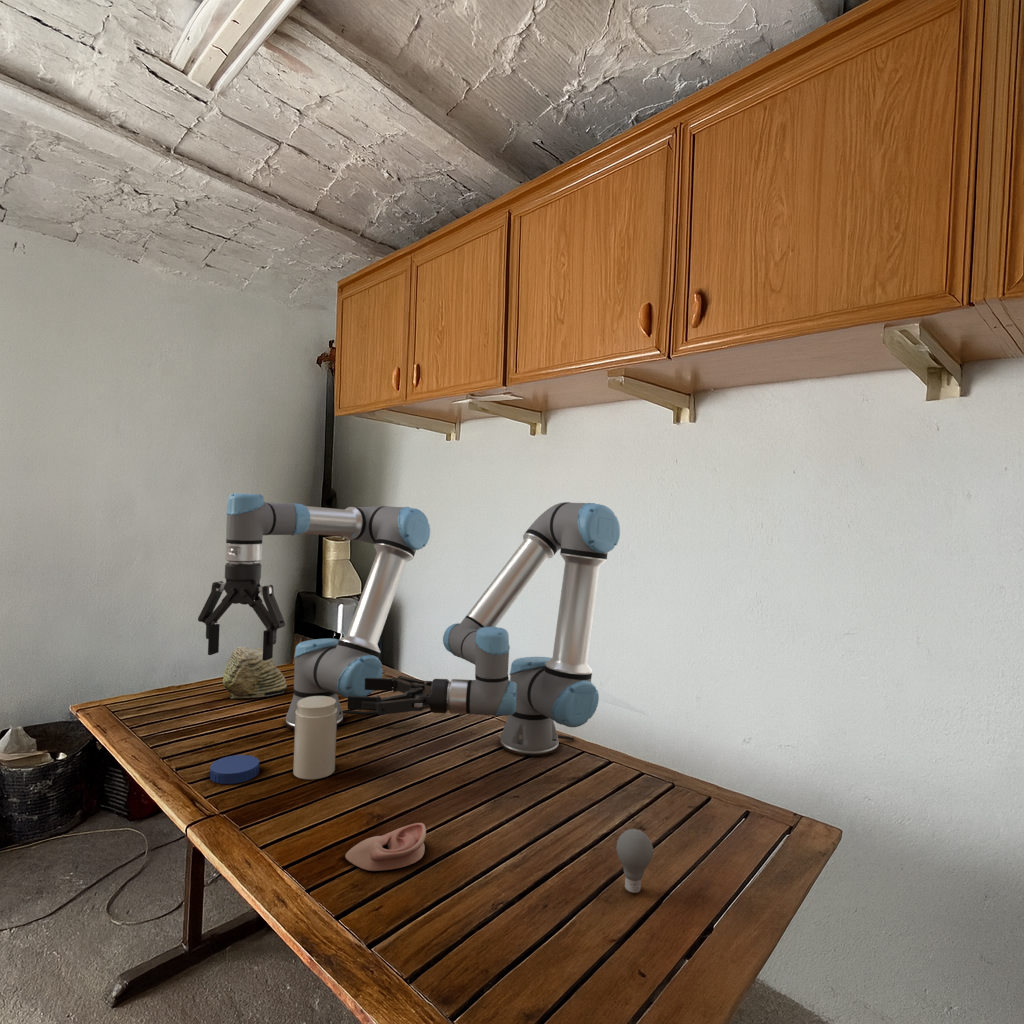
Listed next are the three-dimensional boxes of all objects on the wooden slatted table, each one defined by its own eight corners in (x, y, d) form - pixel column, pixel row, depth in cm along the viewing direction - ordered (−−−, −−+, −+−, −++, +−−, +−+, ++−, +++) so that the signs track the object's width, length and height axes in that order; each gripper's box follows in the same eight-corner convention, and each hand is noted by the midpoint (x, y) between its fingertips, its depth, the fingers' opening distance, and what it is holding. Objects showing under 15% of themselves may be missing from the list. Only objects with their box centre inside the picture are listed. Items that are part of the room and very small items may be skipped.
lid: (223, 788, 135) (223, 778, 135) (201, 774, 142) (201, 763, 142) (267, 774, 143) (268, 764, 143) (245, 760, 150) (245, 751, 150)
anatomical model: (337, 842, 109) (366, 811, 120) (336, 865, 109) (365, 832, 120) (410, 854, 106) (432, 821, 117) (409, 878, 106) (432, 842, 118)
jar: (304, 760, 151) (306, 693, 151) (341, 764, 150) (343, 697, 150) (285, 777, 142) (288, 706, 142) (325, 781, 141) (327, 709, 141)
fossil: (218, 695, 195) (220, 647, 195) (278, 685, 208) (279, 640, 207) (228, 703, 189) (230, 653, 188) (289, 692, 201) (290, 645, 201)
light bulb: (610, 879, 108) (613, 822, 108) (644, 879, 109) (647, 822, 109) (619, 902, 102) (622, 840, 102) (655, 901, 103) (658, 840, 103)
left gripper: (182, 560, 141) (179, 655, 141) (285, 567, 136) (281, 665, 136) (205, 557, 148) (202, 647, 148) (303, 564, 143) (299, 657, 144)
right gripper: (440, 733, 132) (339, 729, 133) (455, 694, 157) (371, 691, 158) (440, 697, 132) (340, 693, 133) (456, 664, 157) (371, 661, 158)
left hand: (240, 656), depth 142 cm, fingers open, 13 cm apart
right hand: (356, 692), depth 145 cm, fingers open, 13 cm apart
